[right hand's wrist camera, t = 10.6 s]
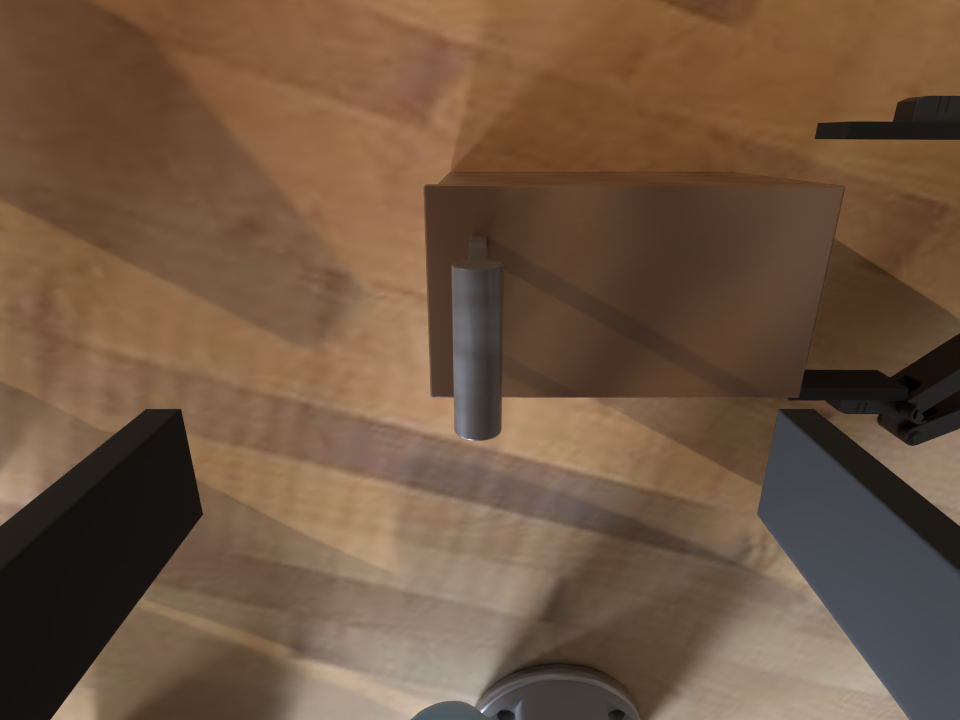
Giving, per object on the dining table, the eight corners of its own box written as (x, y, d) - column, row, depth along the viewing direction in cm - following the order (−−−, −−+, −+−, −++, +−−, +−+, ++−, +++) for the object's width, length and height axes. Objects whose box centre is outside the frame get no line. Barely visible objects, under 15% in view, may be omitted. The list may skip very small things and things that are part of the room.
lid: (432, 388, 29) (412, 488, 20) (425, 184, 25) (398, 205, 17) (787, 388, 29) (911, 488, 20) (830, 184, 25) (1002, 205, 17)
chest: (451, 325, 38) (442, 388, 29) (449, 172, 35) (436, 184, 25) (708, 325, 38) (787, 388, 29) (732, 171, 35) (830, 184, 25)
